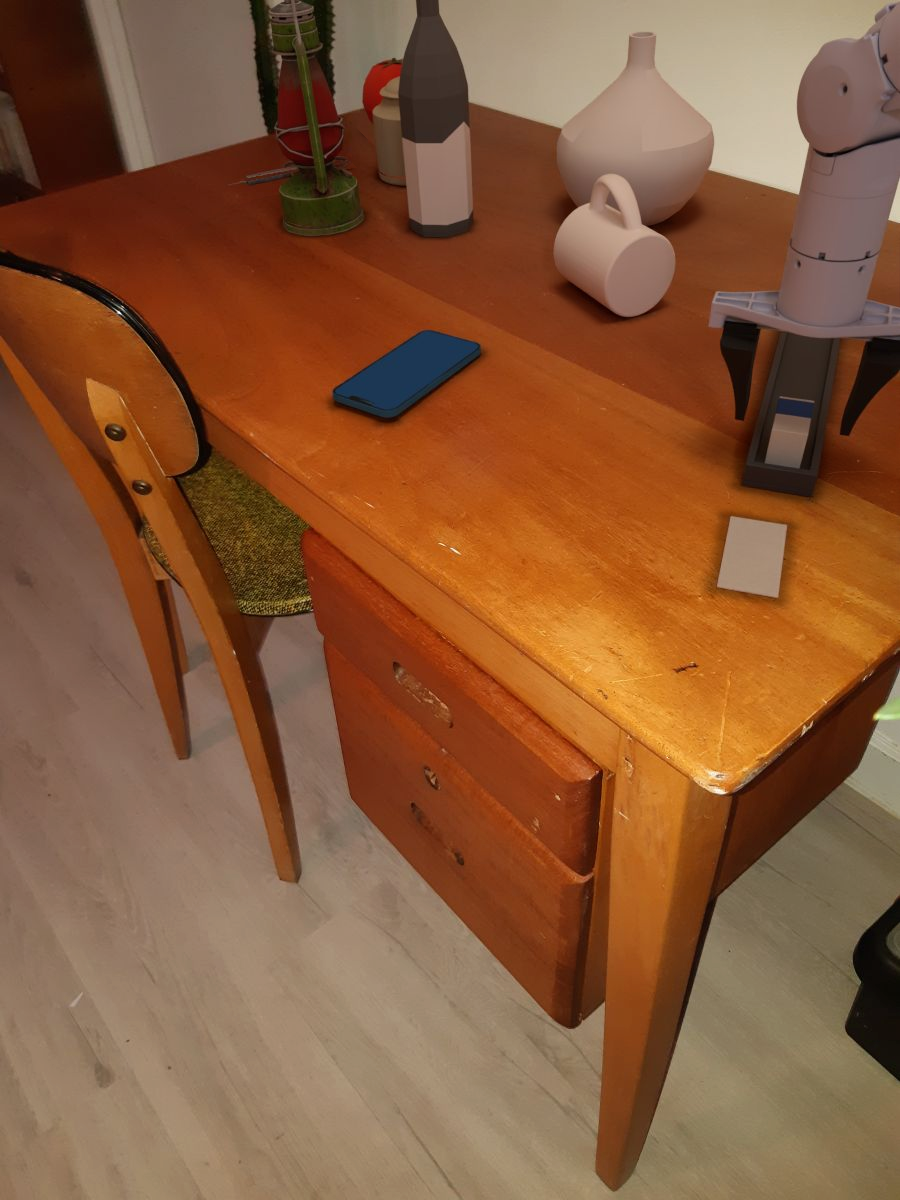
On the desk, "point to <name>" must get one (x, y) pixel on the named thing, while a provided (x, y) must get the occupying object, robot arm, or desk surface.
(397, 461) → the desk surface
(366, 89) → the tomato
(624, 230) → the mug
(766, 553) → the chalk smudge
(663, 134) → the vase
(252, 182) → the syringe
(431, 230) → the wine bottle
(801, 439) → the eraser
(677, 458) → the desk surface
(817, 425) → the tray
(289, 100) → the lantern
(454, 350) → the smartphone
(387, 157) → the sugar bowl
